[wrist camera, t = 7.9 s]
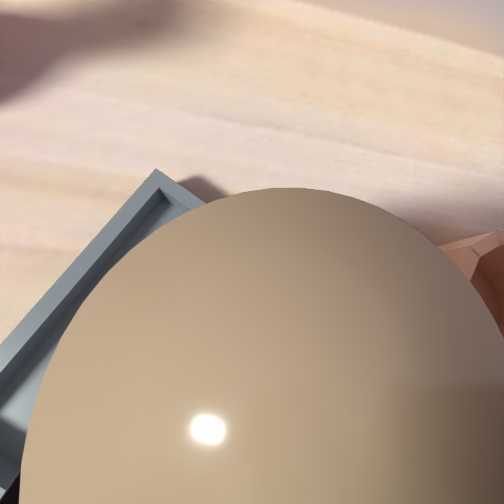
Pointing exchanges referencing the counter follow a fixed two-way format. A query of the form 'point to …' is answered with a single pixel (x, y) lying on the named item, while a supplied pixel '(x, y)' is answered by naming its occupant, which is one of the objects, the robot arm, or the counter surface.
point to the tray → (73, 308)
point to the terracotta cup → (482, 268)
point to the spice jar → (274, 367)
